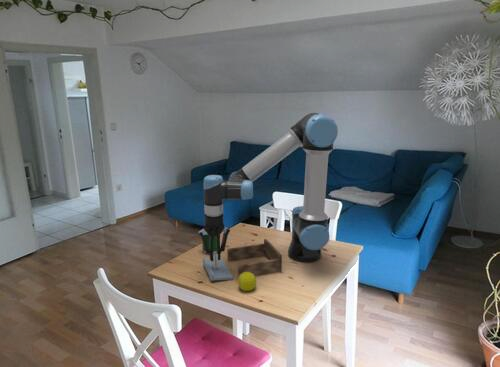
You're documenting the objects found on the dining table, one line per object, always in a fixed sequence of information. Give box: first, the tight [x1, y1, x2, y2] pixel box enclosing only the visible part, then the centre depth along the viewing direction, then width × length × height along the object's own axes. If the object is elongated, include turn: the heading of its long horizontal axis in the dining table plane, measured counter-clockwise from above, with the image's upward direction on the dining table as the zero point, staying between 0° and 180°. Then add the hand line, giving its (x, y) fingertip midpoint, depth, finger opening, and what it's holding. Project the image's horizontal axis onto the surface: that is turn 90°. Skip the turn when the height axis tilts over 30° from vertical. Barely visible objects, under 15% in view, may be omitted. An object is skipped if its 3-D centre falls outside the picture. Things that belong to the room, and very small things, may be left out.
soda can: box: [201, 231, 217, 255], centre depth 173 cm, size 8×8×12 cm
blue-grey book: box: [202, 256, 234, 281], centre depth 154 cm, size 2×17×9 cm
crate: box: [226, 238, 283, 279], centre depth 158 cm, size 19×18×8 cm
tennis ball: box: [237, 272, 257, 292], centre depth 140 cm, size 7×7×7 cm
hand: (215, 267), depth 154 cm, fingers closed
